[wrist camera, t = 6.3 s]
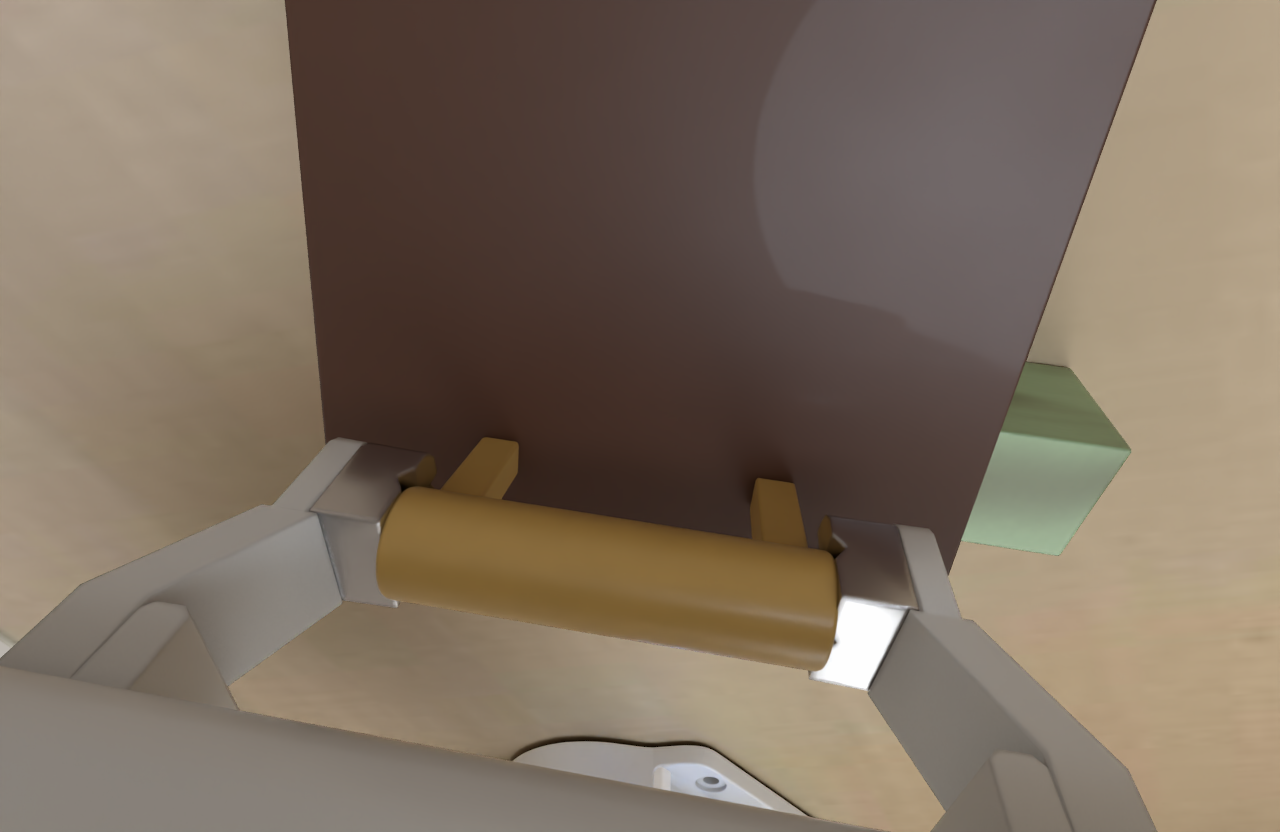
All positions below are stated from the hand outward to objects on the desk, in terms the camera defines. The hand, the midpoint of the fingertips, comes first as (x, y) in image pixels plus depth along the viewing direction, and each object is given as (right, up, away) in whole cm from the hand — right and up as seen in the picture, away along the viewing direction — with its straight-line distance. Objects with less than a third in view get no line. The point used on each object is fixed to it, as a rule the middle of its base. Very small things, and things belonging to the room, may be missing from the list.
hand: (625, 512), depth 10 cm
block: (+11, +2, +11) cm, 15 cm away
